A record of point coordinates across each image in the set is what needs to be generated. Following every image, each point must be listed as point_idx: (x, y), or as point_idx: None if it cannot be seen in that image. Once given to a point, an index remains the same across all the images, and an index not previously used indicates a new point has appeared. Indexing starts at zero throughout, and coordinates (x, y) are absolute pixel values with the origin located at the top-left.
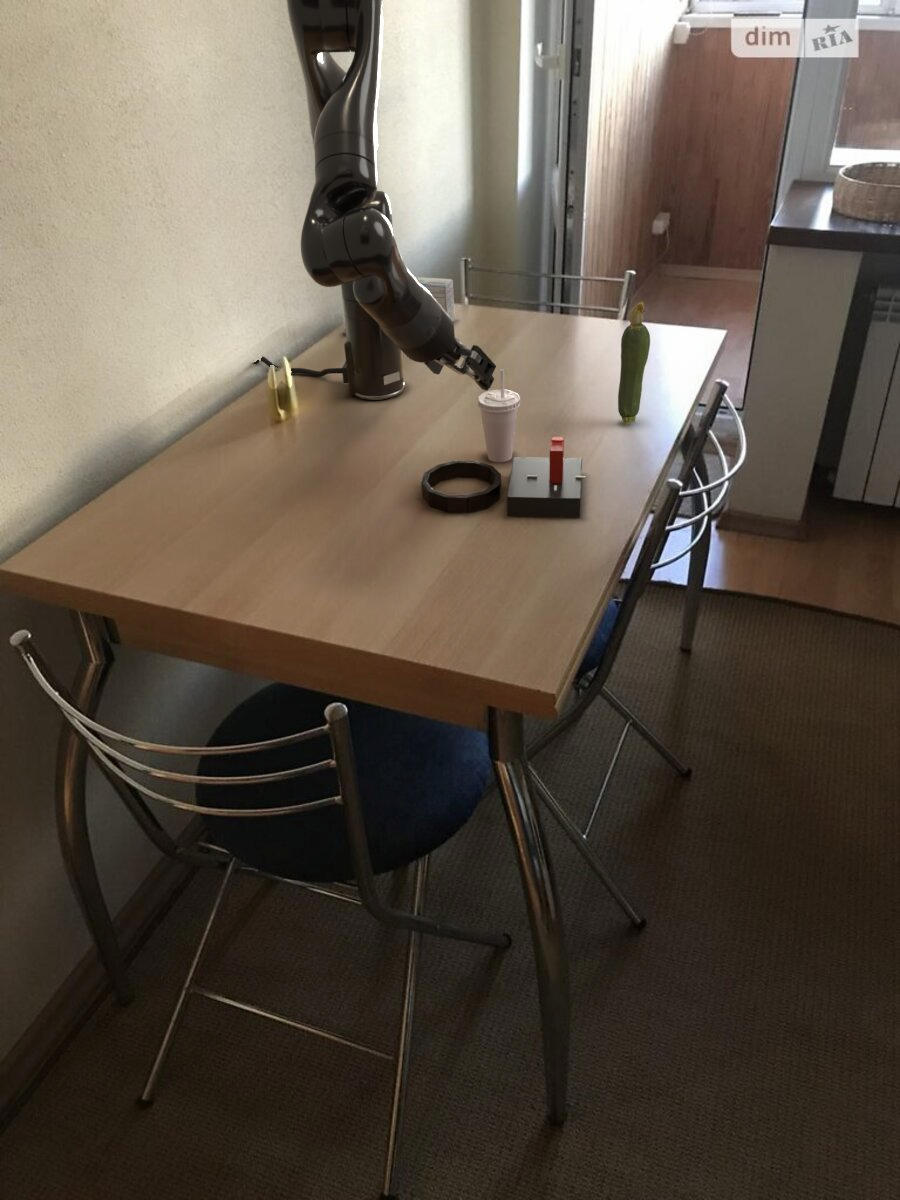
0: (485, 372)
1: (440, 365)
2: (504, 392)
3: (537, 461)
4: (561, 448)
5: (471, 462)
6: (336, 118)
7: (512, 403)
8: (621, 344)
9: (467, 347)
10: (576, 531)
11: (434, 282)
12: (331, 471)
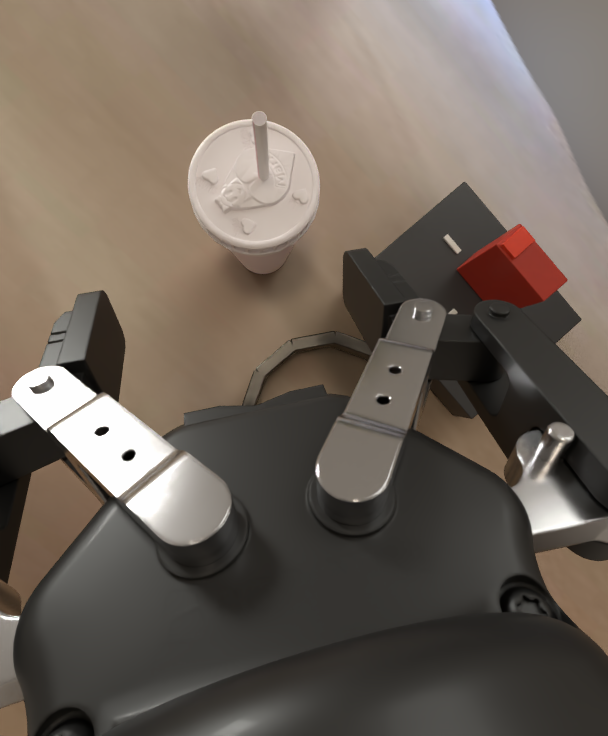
0: (495, 371)
1: (111, 321)
2: (234, 140)
3: (406, 258)
4: (556, 272)
5: (289, 352)
6: None
7: (316, 187)
8: None
9: (421, 385)
10: (579, 365)
11: None
12: (31, 552)
